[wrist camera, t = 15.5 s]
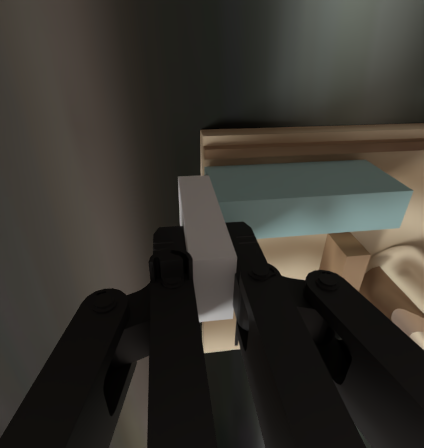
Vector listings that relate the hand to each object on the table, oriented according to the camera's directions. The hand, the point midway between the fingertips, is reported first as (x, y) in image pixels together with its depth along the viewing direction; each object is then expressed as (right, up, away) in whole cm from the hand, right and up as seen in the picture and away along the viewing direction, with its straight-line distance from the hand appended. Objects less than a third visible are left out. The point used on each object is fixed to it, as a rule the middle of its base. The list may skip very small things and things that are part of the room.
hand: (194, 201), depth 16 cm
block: (+5, +1, +2) cm, 5 cm away
